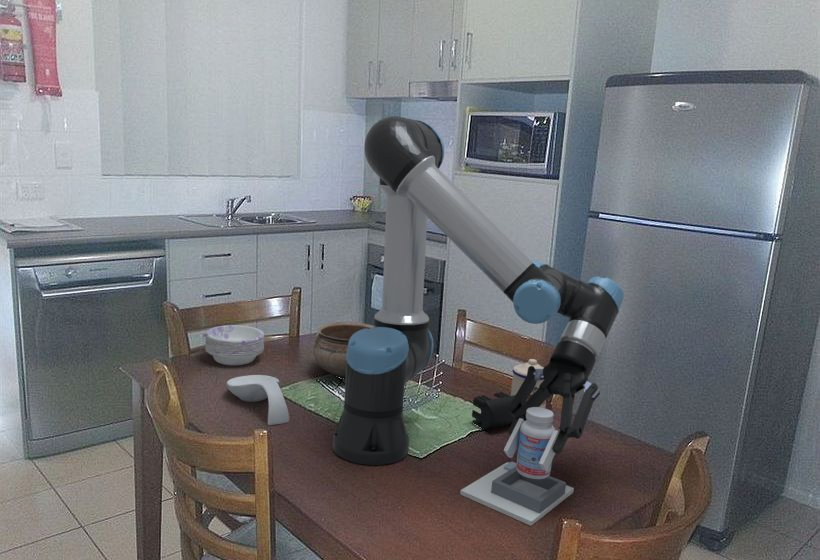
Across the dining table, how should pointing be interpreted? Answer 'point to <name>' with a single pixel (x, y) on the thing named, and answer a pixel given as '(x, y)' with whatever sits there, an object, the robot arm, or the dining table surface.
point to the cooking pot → (335, 345)
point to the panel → (517, 493)
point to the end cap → (492, 411)
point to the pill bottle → (534, 442)
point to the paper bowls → (234, 344)
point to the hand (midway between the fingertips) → (525, 460)
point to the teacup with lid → (521, 374)
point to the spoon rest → (262, 395)
